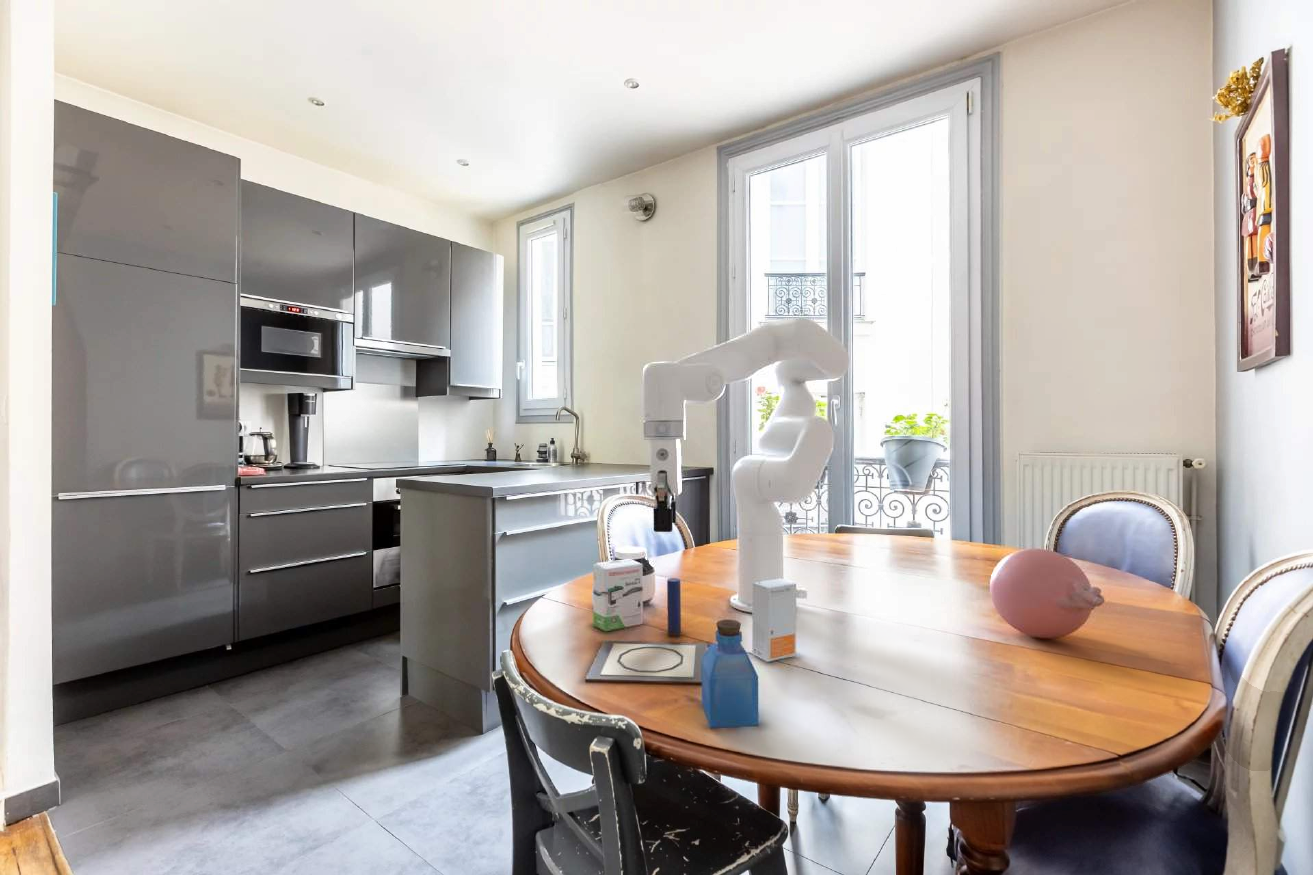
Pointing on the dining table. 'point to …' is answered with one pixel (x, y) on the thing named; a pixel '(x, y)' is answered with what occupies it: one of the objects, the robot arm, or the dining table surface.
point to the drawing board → (648, 662)
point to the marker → (674, 607)
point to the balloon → (1042, 593)
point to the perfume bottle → (729, 680)
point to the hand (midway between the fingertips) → (665, 526)
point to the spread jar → (647, 569)
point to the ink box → (617, 594)
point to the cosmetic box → (774, 619)
